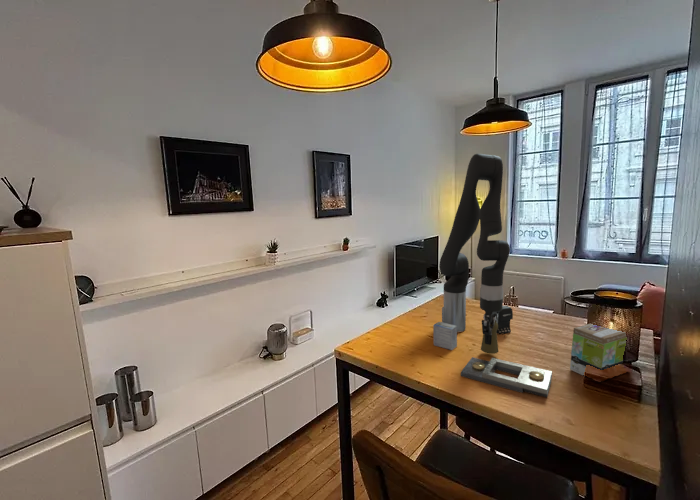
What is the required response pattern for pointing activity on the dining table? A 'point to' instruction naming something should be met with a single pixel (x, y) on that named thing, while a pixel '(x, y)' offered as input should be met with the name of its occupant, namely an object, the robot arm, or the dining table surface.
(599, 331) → the tea box
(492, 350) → the cork
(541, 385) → the upper link plate
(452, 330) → the medicine box
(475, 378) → the lower link plate
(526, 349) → the dining table surface
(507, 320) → the battery charger
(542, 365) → the dining table surface
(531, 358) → the dining table surface
